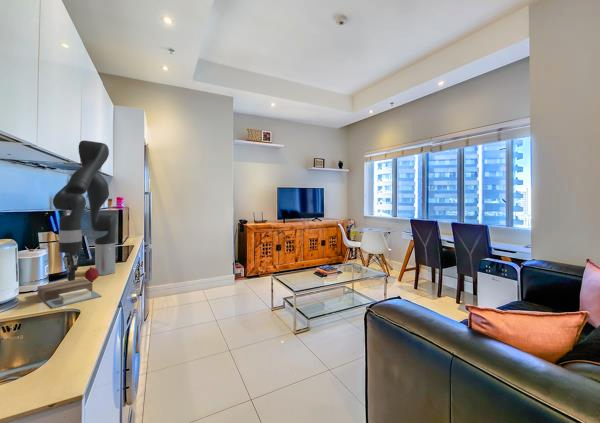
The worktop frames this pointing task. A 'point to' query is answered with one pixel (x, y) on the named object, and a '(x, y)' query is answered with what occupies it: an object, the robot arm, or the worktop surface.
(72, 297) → the tile
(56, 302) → the mat
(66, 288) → the deck
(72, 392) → the worktop surface
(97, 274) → the onion
